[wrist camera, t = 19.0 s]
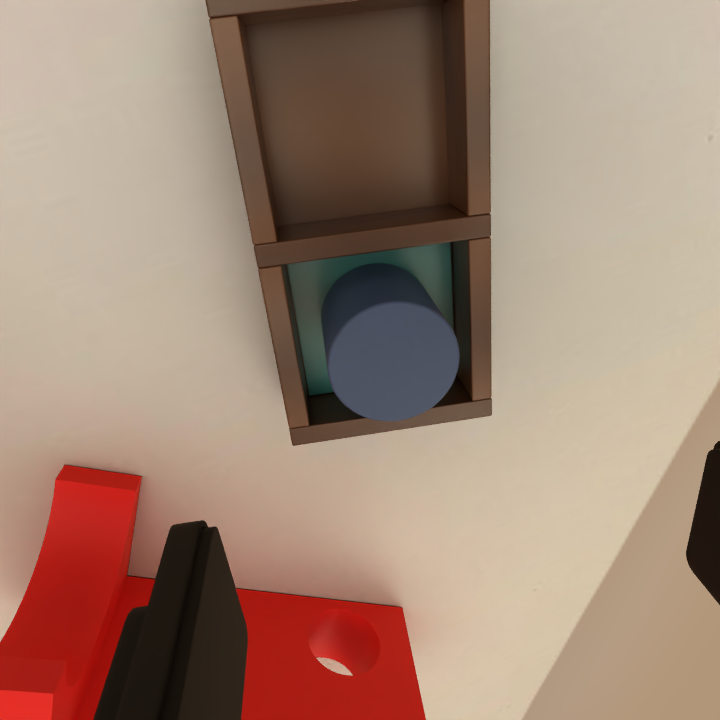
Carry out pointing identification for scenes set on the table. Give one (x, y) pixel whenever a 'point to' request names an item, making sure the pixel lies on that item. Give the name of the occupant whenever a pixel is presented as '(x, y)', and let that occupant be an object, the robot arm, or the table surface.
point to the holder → (362, 176)
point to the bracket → (123, 593)
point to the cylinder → (387, 344)
